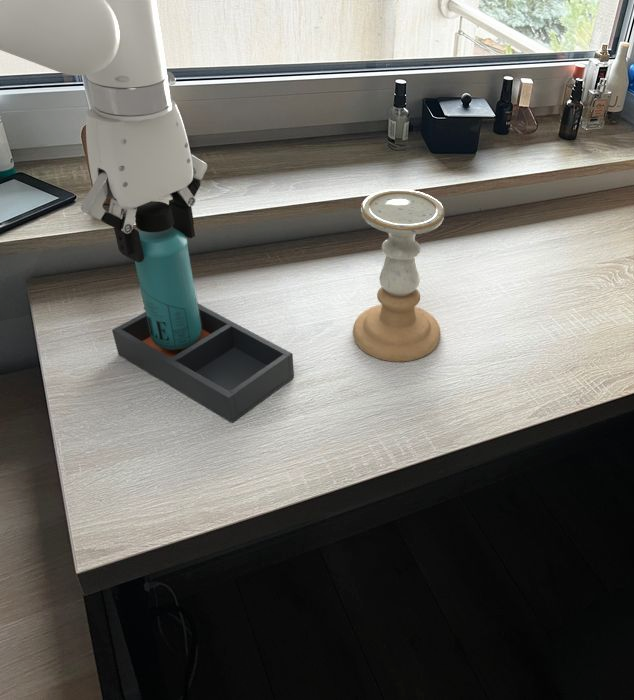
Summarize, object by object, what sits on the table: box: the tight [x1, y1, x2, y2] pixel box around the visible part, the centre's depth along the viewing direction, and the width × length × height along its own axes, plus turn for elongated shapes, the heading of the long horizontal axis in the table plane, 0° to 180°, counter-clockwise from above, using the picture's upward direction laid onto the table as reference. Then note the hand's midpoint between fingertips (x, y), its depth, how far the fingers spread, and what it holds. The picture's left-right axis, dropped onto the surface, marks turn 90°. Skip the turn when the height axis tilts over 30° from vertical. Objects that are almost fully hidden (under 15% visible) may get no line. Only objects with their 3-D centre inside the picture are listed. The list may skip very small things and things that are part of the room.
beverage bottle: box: [134, 200, 203, 350], centre depth 88 cm, size 6×7×20 cm
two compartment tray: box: [111, 302, 295, 424], centre depth 92 cm, size 11×20×4 cm, turn 58°
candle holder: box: [352, 188, 445, 363], centre depth 96 cm, size 12×12×20 cm
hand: (159, 244), depth 85 cm, fingers closed on beverage bottle, 6 cm apart
